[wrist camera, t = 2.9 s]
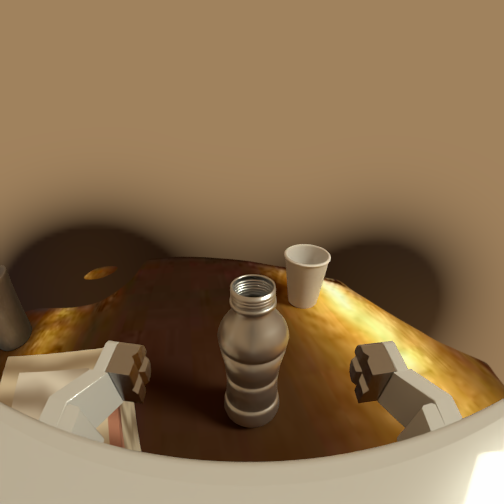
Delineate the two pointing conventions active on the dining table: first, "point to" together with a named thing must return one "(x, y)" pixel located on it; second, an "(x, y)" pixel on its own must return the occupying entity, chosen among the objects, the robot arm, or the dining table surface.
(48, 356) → the riser block
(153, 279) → the dining table surface
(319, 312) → the dining table surface
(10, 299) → the pillar candle
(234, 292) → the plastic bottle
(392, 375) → the robot arm
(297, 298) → the dixie cup
